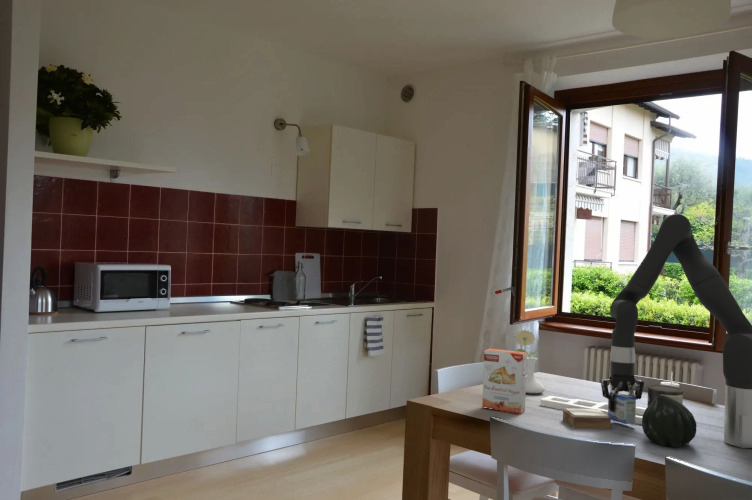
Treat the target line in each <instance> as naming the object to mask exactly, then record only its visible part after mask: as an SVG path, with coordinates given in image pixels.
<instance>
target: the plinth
mask: <svg viewBox="0 0 752 500" xmlns="http://www.w3.org/2000/svg"><path fill="white" fill-rule="evenodd" d="M562 421H564V422H565V423H566V424H568V426H570V427H571V428H573V429H590V430H591V429H592V430H593V429H595V430H601V429H602V430H610V429H612V427H611V425H612V420H611V418H610V417H609V416H608V415H606V414H605V413H603V412H601V411H600V410H598V409H572V408H565V410H562Z"/></svg>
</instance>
